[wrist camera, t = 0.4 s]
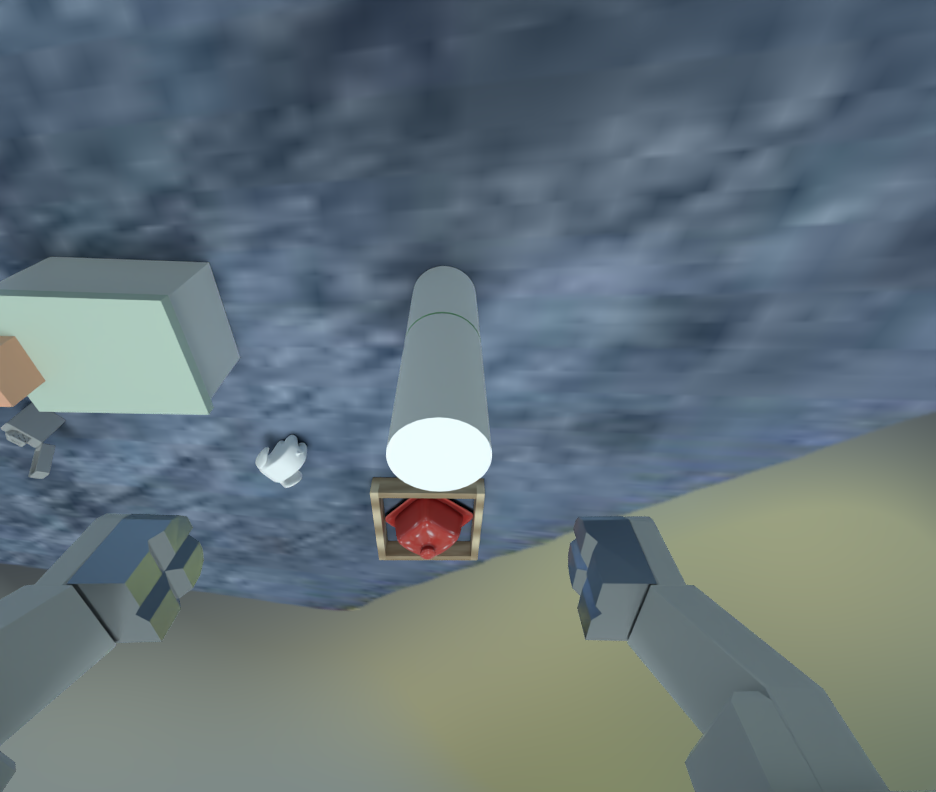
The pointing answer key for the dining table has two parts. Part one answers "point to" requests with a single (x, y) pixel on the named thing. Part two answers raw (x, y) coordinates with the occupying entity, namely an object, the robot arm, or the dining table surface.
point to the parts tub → (177, 279)
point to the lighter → (34, 436)
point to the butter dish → (428, 524)
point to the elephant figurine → (283, 461)
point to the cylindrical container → (441, 388)
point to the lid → (97, 354)
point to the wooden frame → (403, 490)
